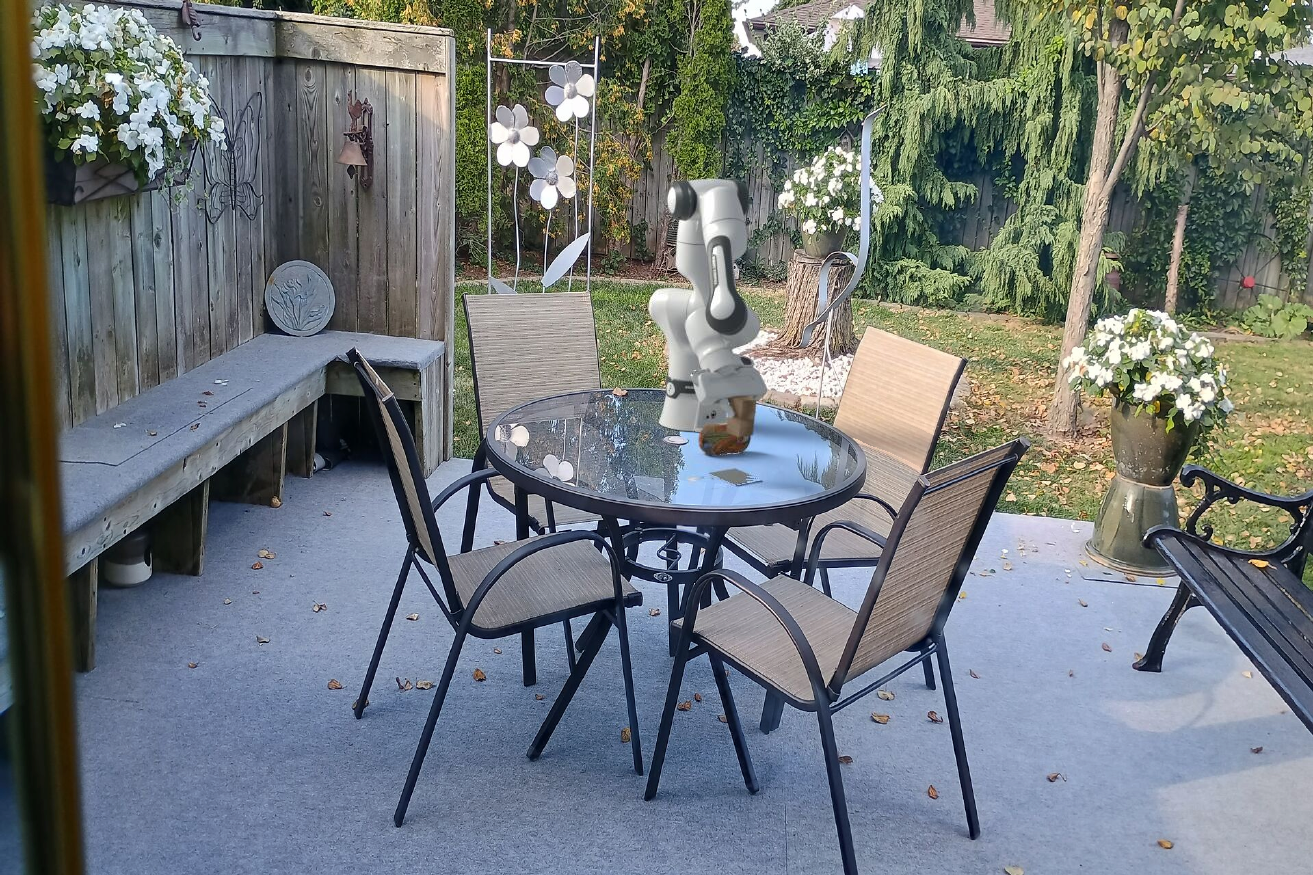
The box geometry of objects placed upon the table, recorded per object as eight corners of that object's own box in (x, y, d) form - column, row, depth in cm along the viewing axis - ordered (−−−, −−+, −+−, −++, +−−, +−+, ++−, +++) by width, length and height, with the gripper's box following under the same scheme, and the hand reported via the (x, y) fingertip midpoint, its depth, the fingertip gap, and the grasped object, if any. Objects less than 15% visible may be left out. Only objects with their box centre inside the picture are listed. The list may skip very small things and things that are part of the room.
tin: (701, 457, 290) (704, 426, 288) (695, 453, 293) (698, 423, 290) (749, 453, 297) (753, 423, 295) (743, 450, 300) (746, 420, 297)
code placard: (707, 476, 275) (707, 475, 275) (731, 487, 268) (731, 485, 268) (685, 480, 271) (685, 478, 270) (709, 491, 264) (709, 489, 264)
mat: (735, 470, 281) (735, 468, 281) (761, 481, 273) (762, 479, 273) (709, 474, 276) (709, 472, 275) (735, 486, 268) (735, 484, 268)
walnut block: (740, 430, 274) (743, 395, 272) (752, 435, 271) (756, 399, 268) (726, 432, 271) (729, 396, 269) (738, 437, 268) (742, 401, 266)
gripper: (695, 363, 266) (717, 412, 261) (757, 358, 278) (780, 405, 273) (681, 377, 270) (703, 426, 265) (744, 372, 283) (766, 418, 278)
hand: (743, 415), depth 269 cm, fingers closed on walnut block, 5 cm apart
